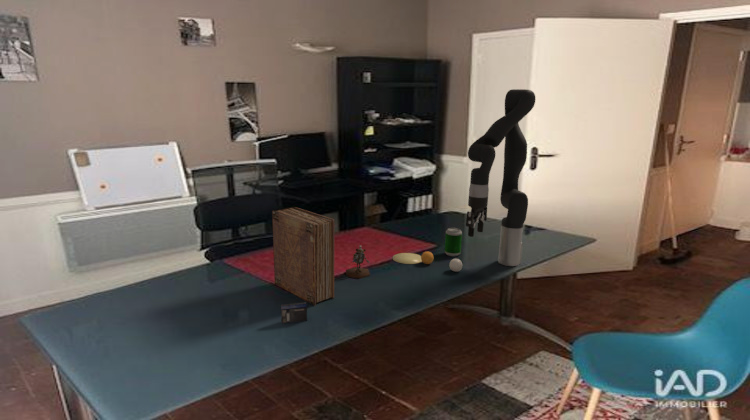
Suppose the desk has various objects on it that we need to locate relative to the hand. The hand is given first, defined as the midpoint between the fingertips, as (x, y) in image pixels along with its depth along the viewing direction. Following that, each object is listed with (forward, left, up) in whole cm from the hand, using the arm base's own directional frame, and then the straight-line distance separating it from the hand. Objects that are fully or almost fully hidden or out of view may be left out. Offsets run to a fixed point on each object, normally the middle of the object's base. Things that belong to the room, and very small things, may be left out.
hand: (475, 234), depth 197 cm
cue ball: (+3, -8, -16) cm, 18 cm away
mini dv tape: (+79, +5, -19) cm, 81 cm away
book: (+68, -16, -19) cm, 72 cm away
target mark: (+13, -30, -18) cm, 37 cm away
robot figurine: (+42, -23, -19) cm, 51 cm away
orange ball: (+8, -21, -16) cm, 27 cm away
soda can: (-9, -26, -19) cm, 33 cm away
